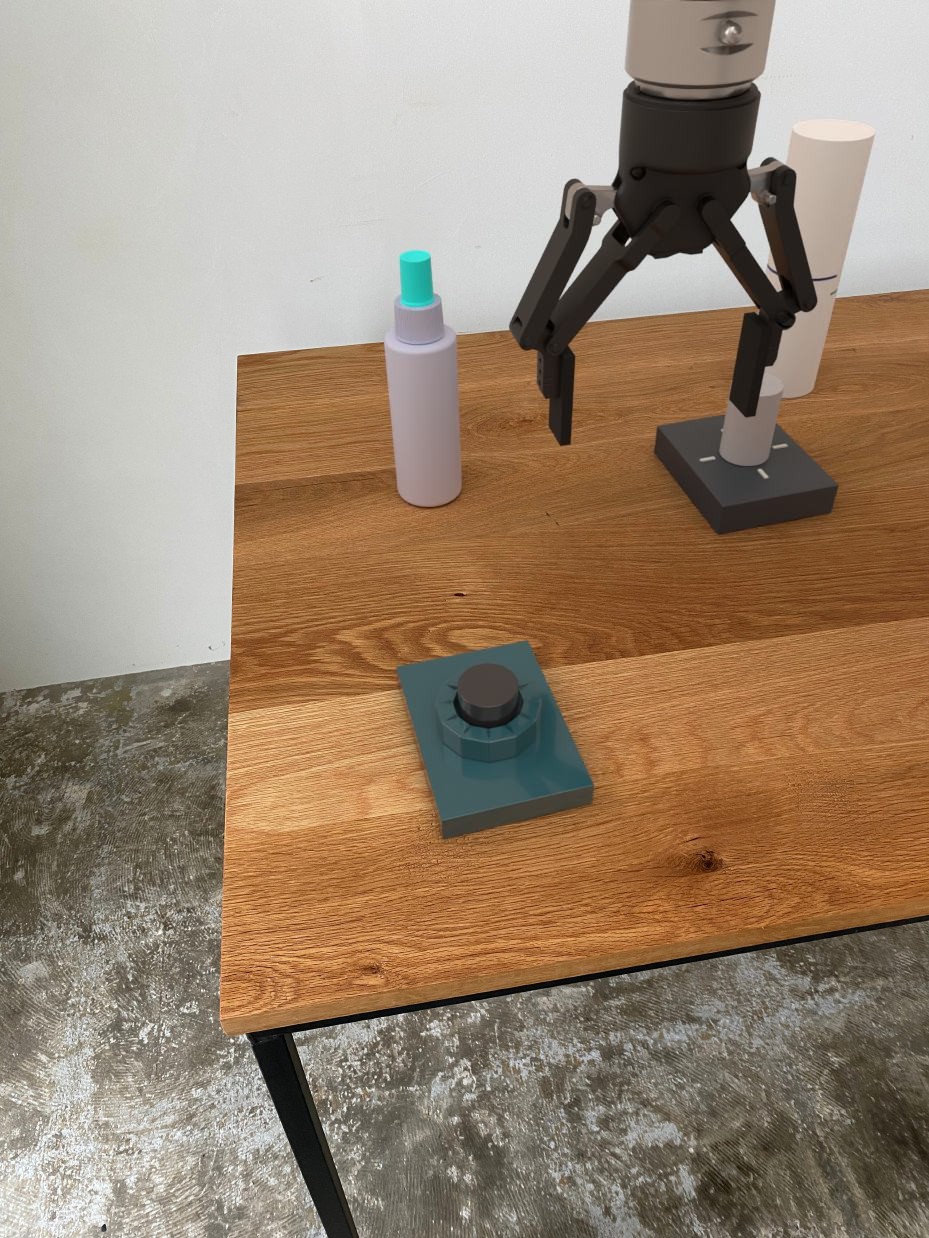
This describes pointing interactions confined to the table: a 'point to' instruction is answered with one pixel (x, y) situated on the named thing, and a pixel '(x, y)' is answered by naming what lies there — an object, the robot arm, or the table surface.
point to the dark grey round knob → (488, 695)
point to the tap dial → (752, 427)
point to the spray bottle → (423, 389)
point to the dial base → (743, 477)
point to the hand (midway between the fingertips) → (652, 422)
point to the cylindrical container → (820, 234)
